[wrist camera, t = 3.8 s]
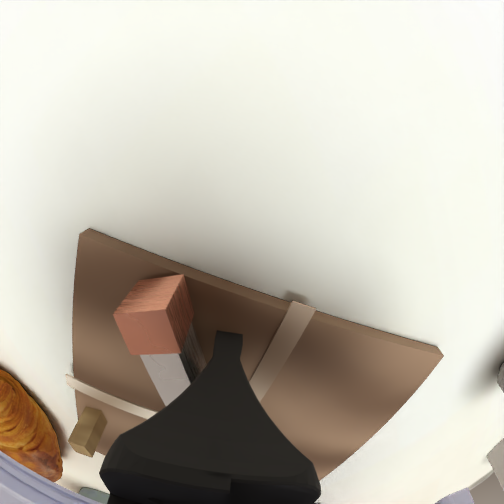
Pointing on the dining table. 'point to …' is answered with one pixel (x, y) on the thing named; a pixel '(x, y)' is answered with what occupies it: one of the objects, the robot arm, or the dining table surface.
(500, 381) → the lightbulb
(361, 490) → the dining table surface
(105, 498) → the embossed teal cup
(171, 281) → the square frame with handle
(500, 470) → the lumpy-topped squat cylinder
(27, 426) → the croissant
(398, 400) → the socket base
